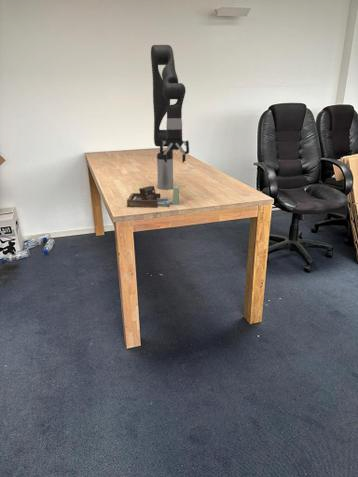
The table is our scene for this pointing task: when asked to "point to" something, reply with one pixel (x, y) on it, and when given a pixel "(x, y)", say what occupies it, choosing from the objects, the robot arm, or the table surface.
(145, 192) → the box
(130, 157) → the table surface
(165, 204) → the pull frame
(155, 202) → the dark brown tray
